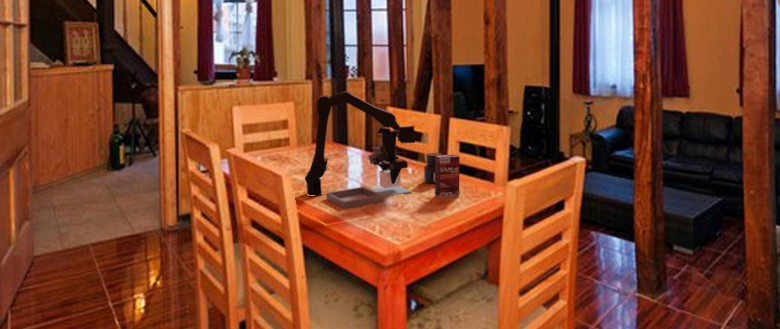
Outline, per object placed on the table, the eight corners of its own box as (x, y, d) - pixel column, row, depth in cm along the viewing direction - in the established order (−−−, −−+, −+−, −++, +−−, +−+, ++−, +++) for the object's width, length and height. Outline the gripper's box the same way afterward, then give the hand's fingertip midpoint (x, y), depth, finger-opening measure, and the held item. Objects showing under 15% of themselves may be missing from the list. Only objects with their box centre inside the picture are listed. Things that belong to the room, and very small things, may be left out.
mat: (370, 191, 224) (370, 189, 224) (396, 187, 229) (395, 185, 229) (384, 197, 213) (384, 195, 213) (411, 193, 219) (411, 191, 219)
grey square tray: (326, 200, 212) (326, 192, 212) (363, 194, 220) (363, 186, 219) (344, 210, 199) (343, 202, 198) (383, 203, 206) (382, 195, 206)
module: (379, 185, 221) (379, 171, 220) (394, 183, 224) (394, 168, 223) (385, 188, 217) (384, 173, 216) (400, 185, 221) (400, 170, 219)
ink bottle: (439, 185, 230) (438, 157, 228) (420, 183, 235) (419, 155, 232) (448, 180, 238) (448, 153, 236) (430, 178, 243) (430, 151, 240)
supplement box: (439, 198, 210) (438, 158, 206) (434, 195, 214) (434, 155, 211) (460, 196, 212) (460, 156, 209) (455, 193, 217) (455, 153, 213)
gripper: (360, 142, 221) (361, 180, 225) (382, 149, 206) (383, 190, 209) (384, 140, 227) (385, 177, 230) (408, 146, 211) (408, 186, 214)
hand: (390, 182), depth 221 cm, fingers closed on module, 4 cm apart
